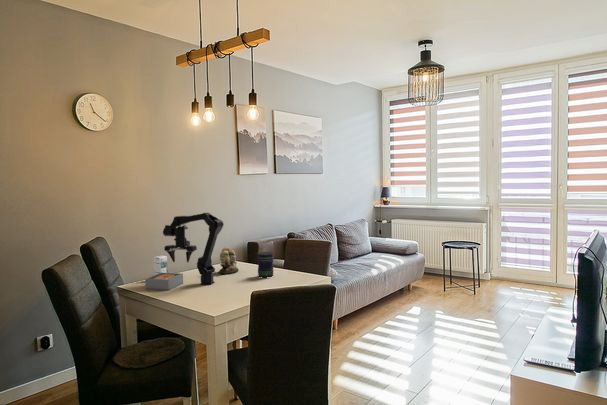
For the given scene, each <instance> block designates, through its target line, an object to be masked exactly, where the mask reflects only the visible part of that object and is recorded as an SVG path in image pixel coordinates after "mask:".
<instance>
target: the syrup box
mask: <svg viewBox="0 0 607 405" xmlns="http://www.w3.org/2000/svg"><path fill="white" fill-rule="evenodd" d="M153 265H154V268H153V270H154V275H157V274H159V273H169V272H168V271H169V269H168V267H169V266H168V256H167V255H158V256H154V257H153Z"/></svg>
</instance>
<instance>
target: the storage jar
mask: <svg viewBox="0 0 607 405" xmlns="http://www.w3.org/2000/svg"><path fill="white" fill-rule="evenodd" d="M257 263H258V264H257V265H258V266H257V278H259V277H262V278H261V279H268V278H267V277H272V276H273V277H274V252H270V251H263V252H262V251H261V252H257ZM273 277H272V278H273Z"/></svg>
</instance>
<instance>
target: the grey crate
mask: <svg viewBox="0 0 607 405" xmlns="http://www.w3.org/2000/svg"><path fill="white" fill-rule="evenodd" d="M164 274H165V275H175V277H173V278H170V279H168V280H167V279H154V278H156V277H159V276H161V275H164ZM144 280H145V281H144V284H145V286H144V287H145V290H147V289H149V290H150V291H151V290H152V291H153V290H154V291H170V290H172V289H175V288H177V287H179V286H181V285H183V284H184V273H183V272H182V273H181V272H180V273H176V272H168V273H159V274H157V275H155V274H153V275H152V276H149V277H147V278H144ZM149 290H148V291H149Z"/></svg>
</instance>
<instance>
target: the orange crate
mask: <svg viewBox="0 0 607 405" xmlns="http://www.w3.org/2000/svg"><path fill="white" fill-rule="evenodd" d="M173 277H175V275H165V274H164V275H161V276H159V277H156V278H154V279H167V280H168V279H170V278H173Z"/></svg>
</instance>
